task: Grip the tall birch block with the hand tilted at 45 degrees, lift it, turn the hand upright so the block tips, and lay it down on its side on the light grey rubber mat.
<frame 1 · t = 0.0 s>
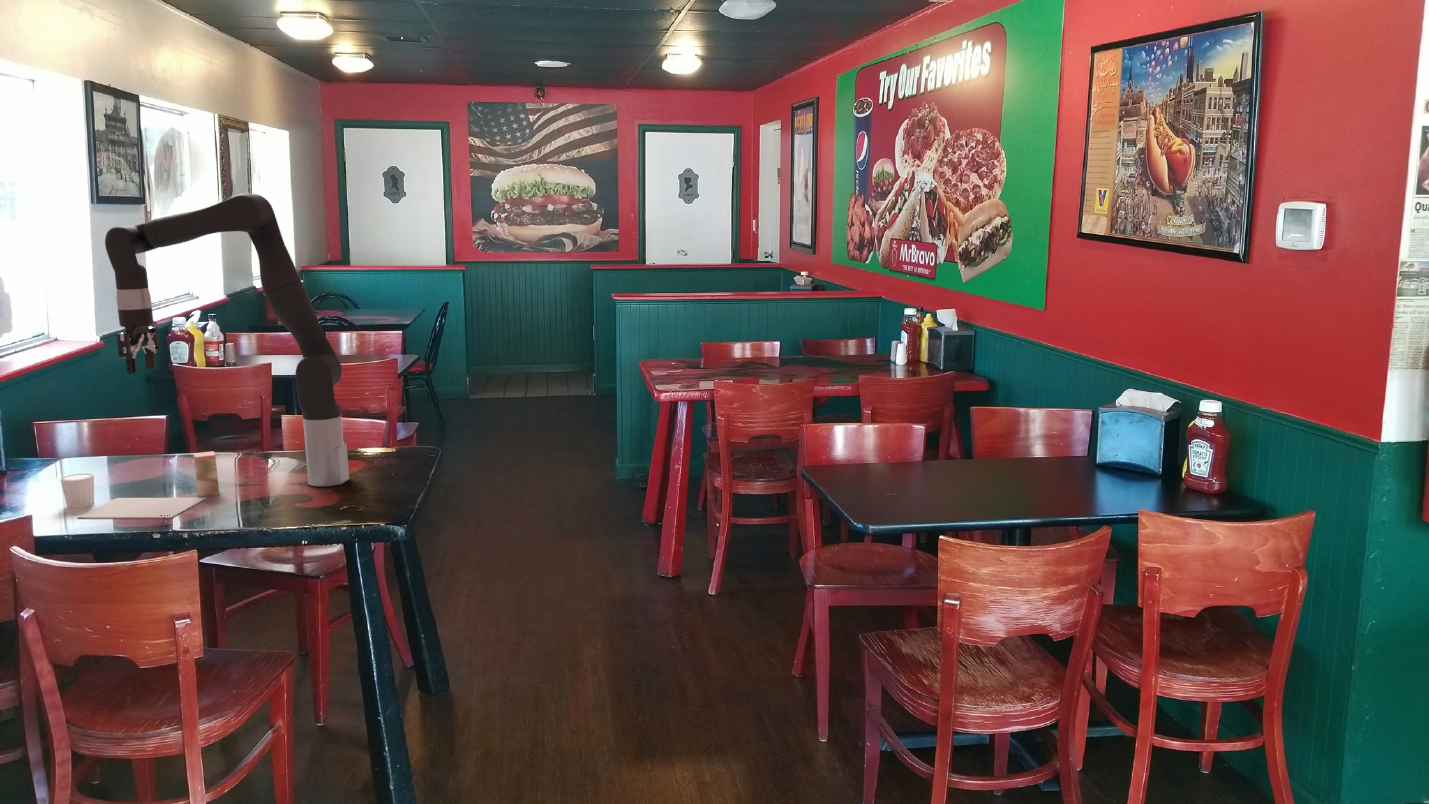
hand: (142, 370, 268), 29 cm above the table, tool pointing down, fingers open, 8 cm apart
birch block: (208, 493, 263), on the table
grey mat: (143, 508, 250), on the table
beige tapered cup: (80, 505, 254), on the table
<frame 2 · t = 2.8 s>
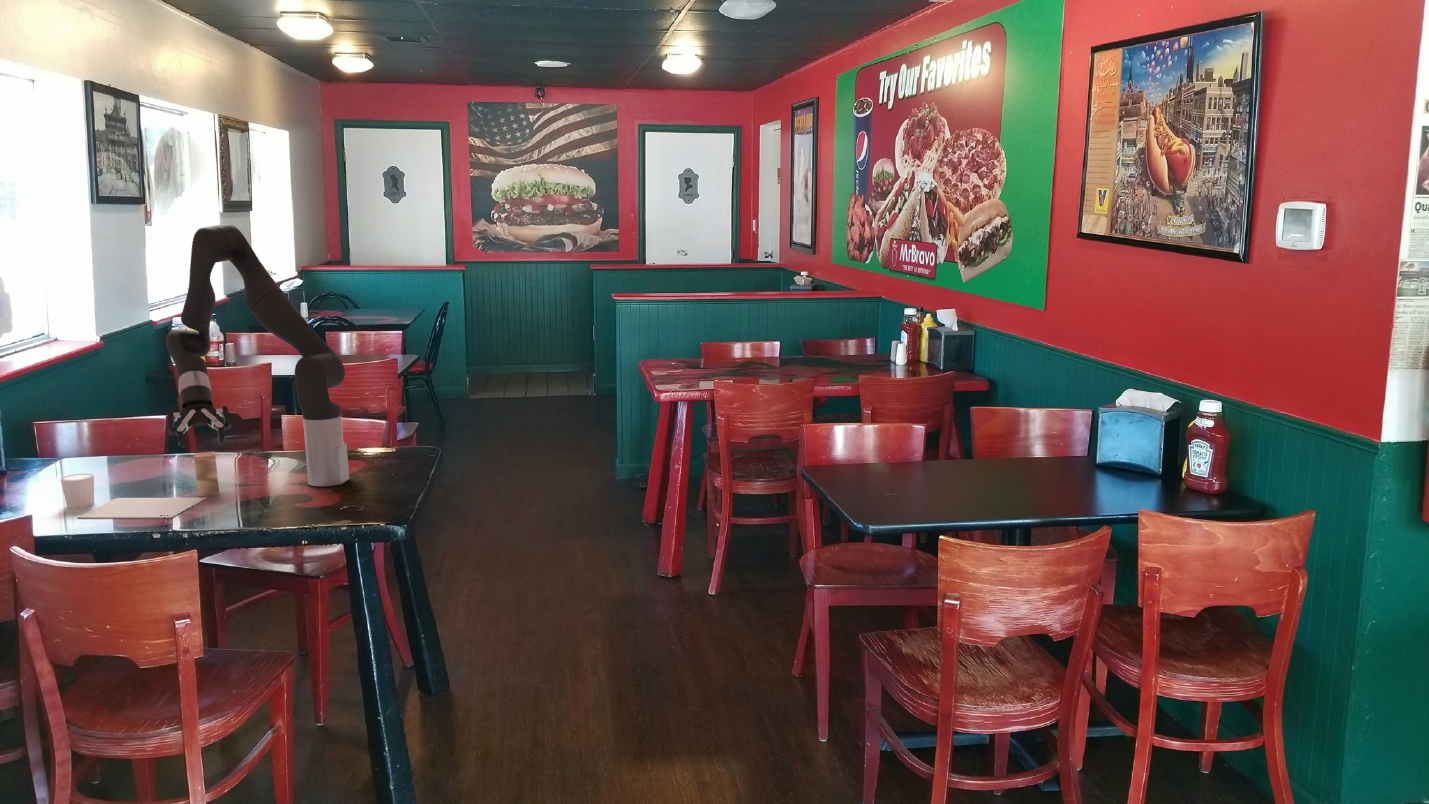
hand: (202, 444, 267), 11 cm above the table, tool tilted 45°, fingers open, 8 cm apart
nothing on the table moved.
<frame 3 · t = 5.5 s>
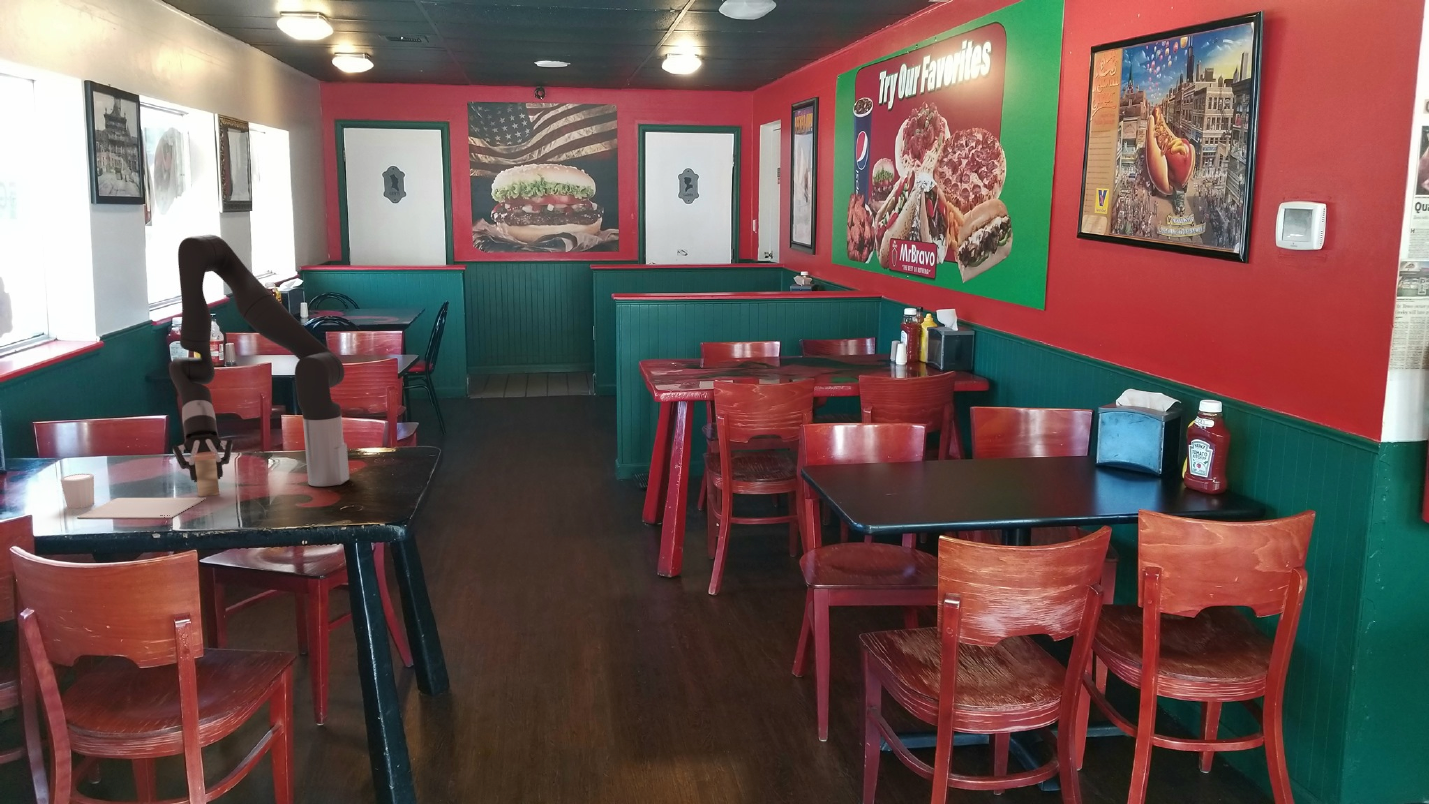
hand: (207, 478, 260), 4 cm above the table, tool tilted 45°, fingers closed on birch block, 4 cm apart
birch block: (208, 493, 263), on the table, touching gripper
everything else where it was.
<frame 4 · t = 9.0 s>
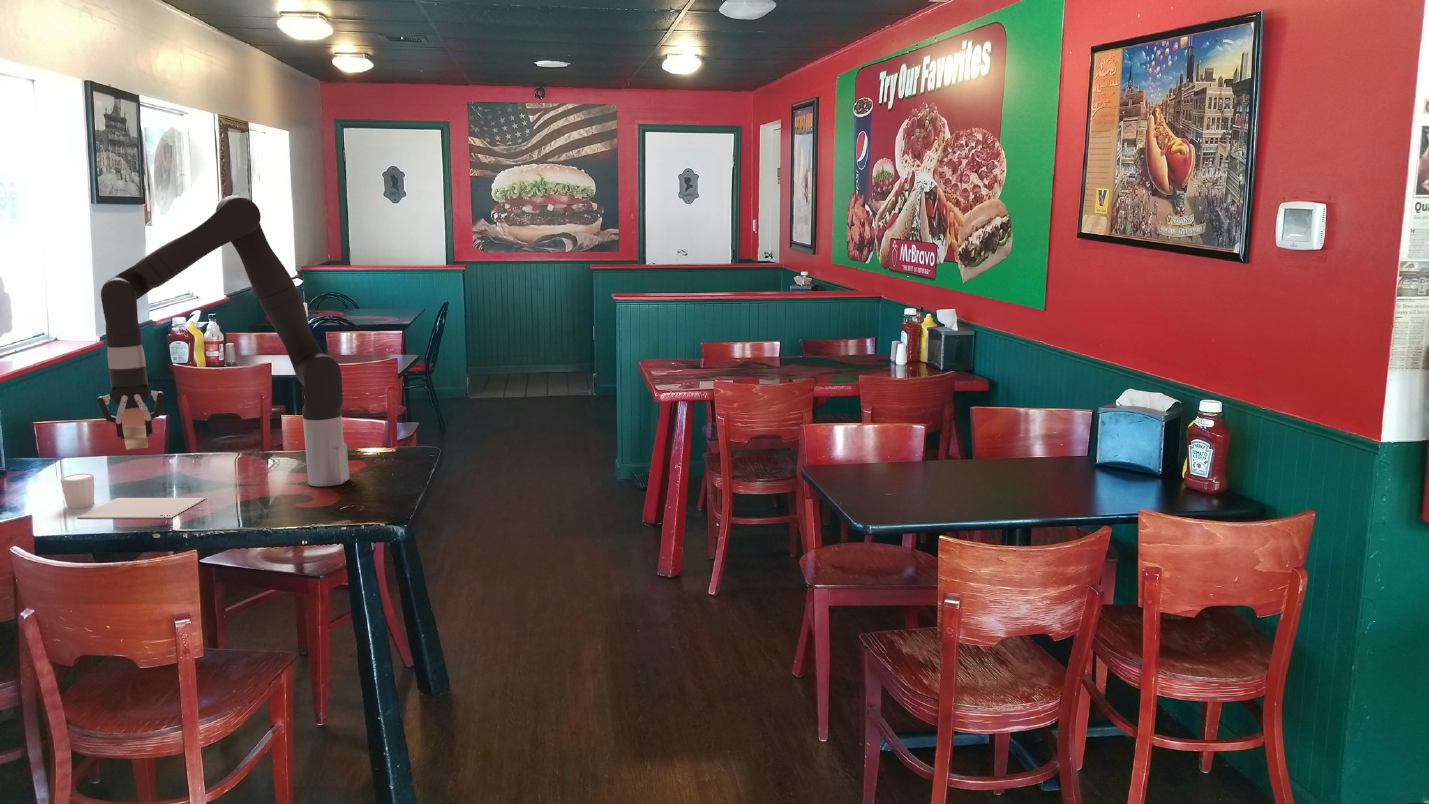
hand: (135, 437, 247), 17 cm above the table, tool pointing down, fingers closed on birch block, 4 cm apart
birch block: (136, 440, 251), point 16 cm above the table, tilted 45°, touching gripper
everything else where it was.
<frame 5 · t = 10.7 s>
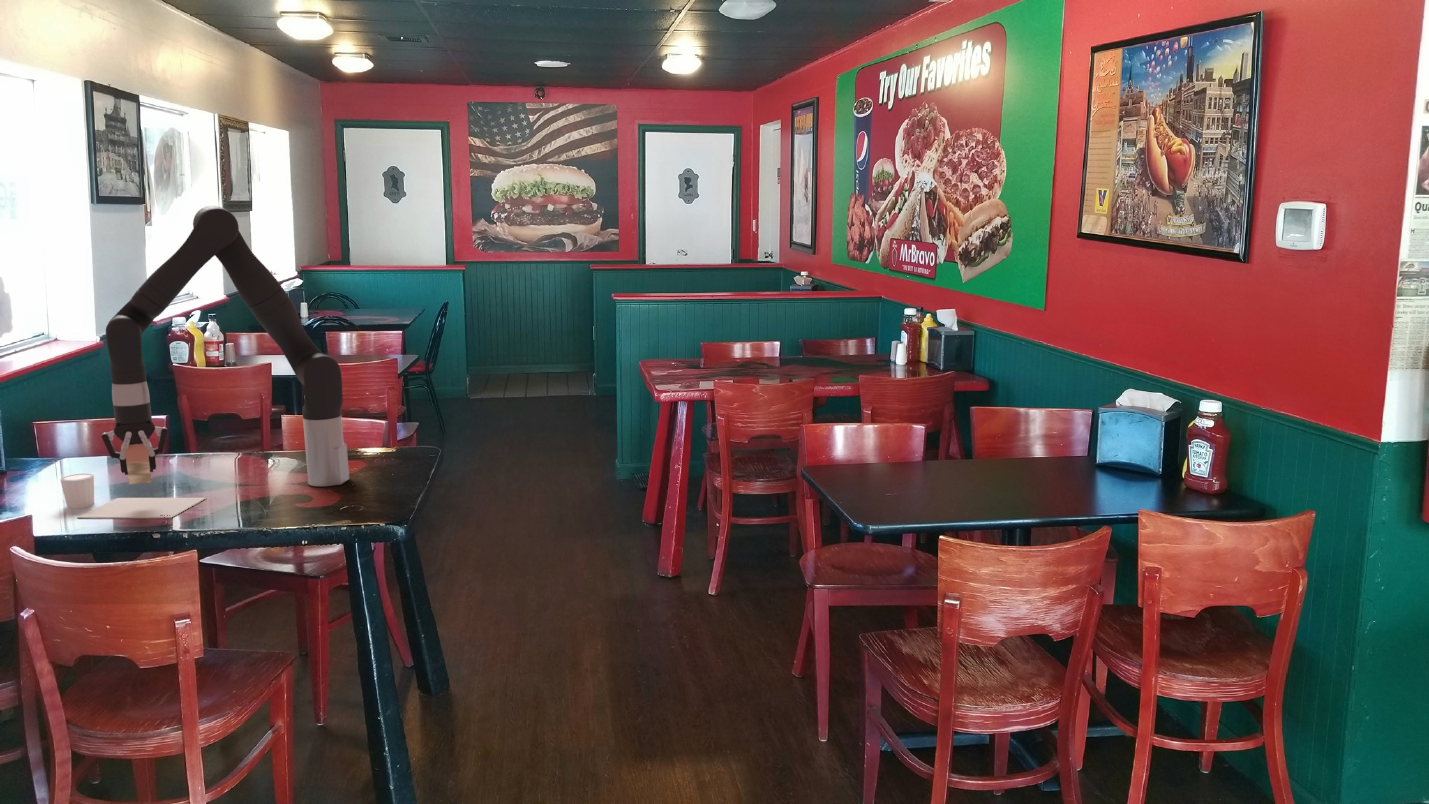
hand: (139, 472, 249), 9 cm above the table, tool pointing down, fingers closed on birch block, 4 cm apart
birch block: (139, 475, 253), point 7 cm above the table, tilted 45°, touching gripper
everything else where it was.
when the fingers open (5 cm above the table, at t = 12.2 s): birch block drops 1 cm and tips over, resting on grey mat.
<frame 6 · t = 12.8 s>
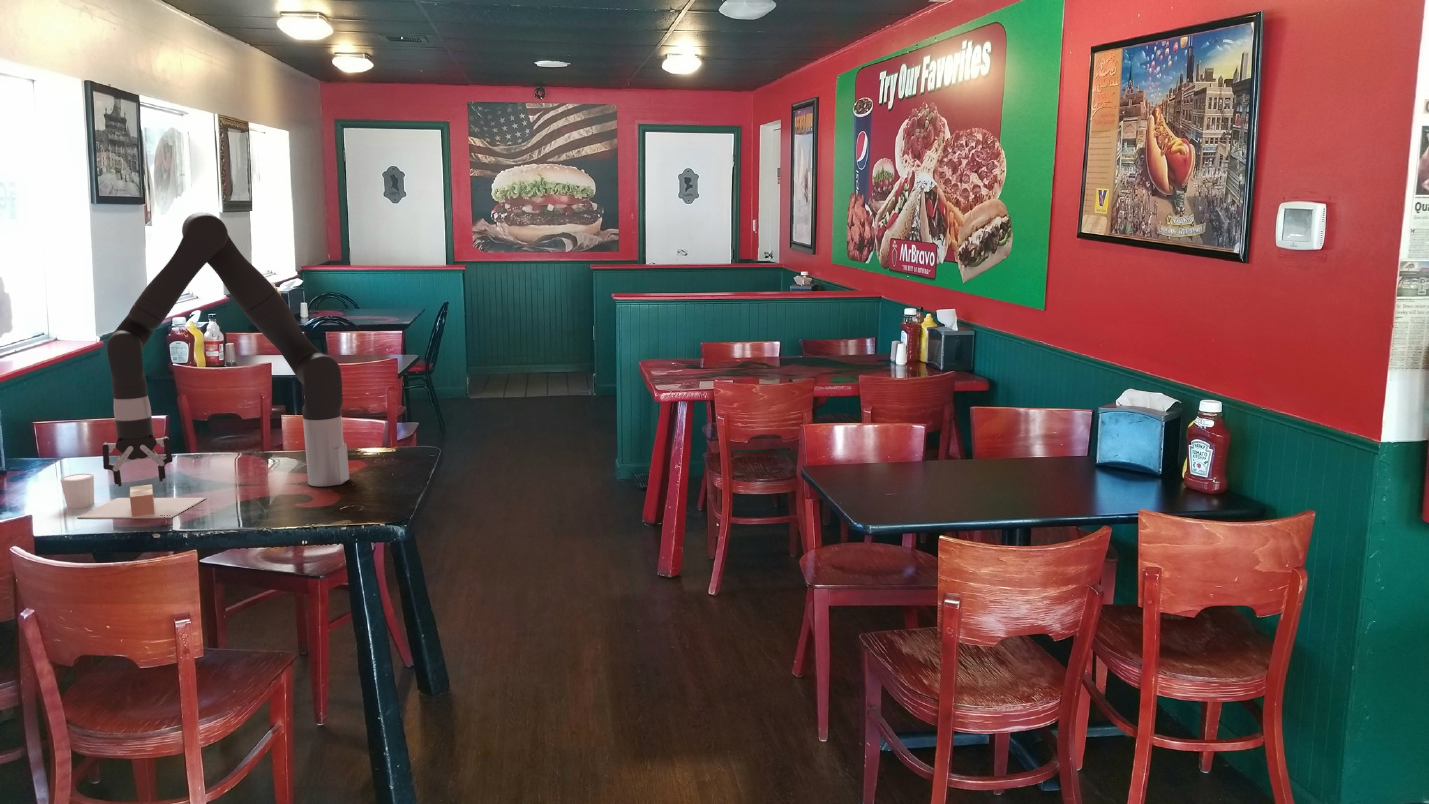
hand: (140, 483, 249), 6 cm above the table, tool pointing down, fingers open, 8 cm apart
birch block: (142, 495, 252), point 3 cm above the table, tilted 90°, touching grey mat
everything else where it was.
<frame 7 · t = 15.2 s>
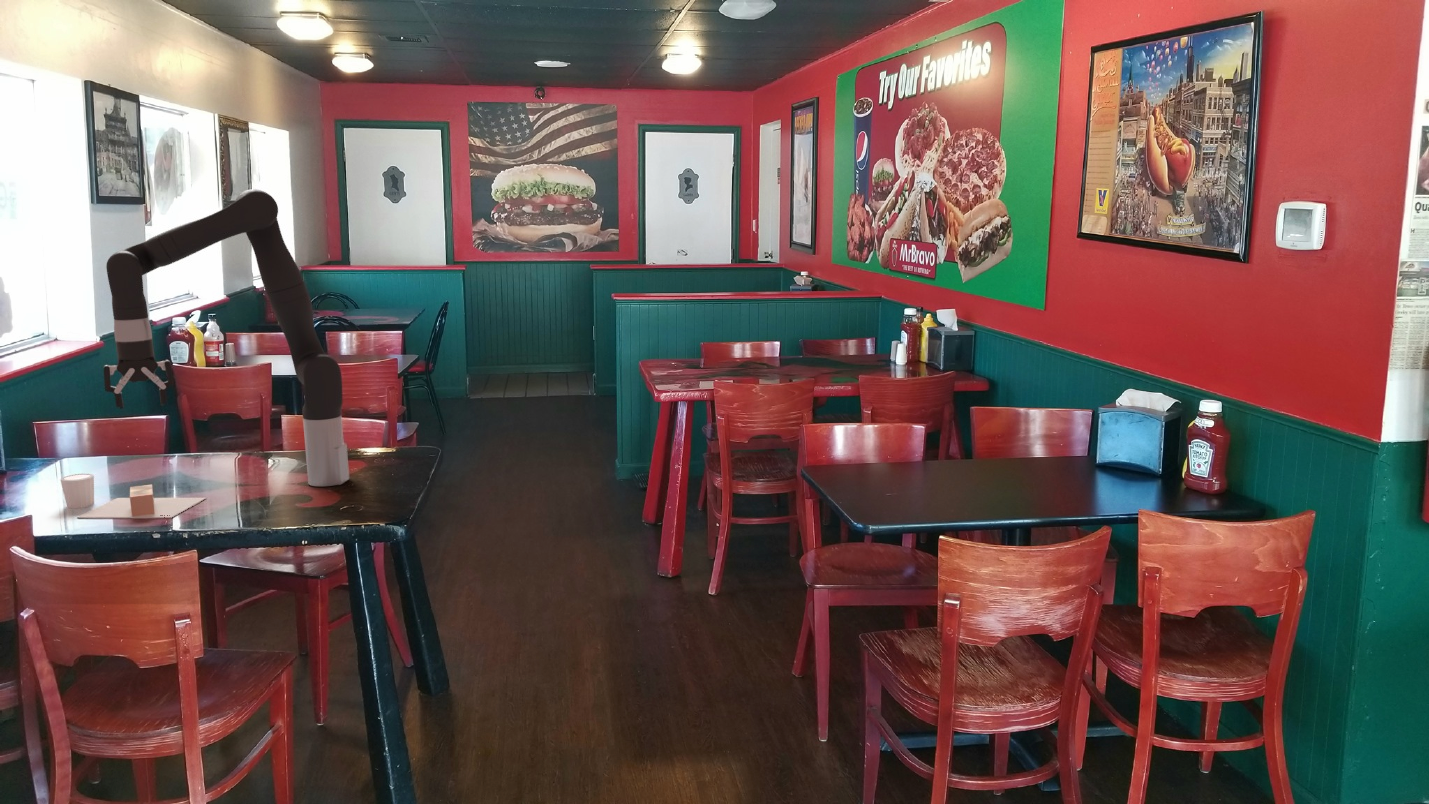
hand: (142, 406, 248), 24 cm above the table, tool pointing down, fingers open, 8 cm apart
nothing on the table moved.
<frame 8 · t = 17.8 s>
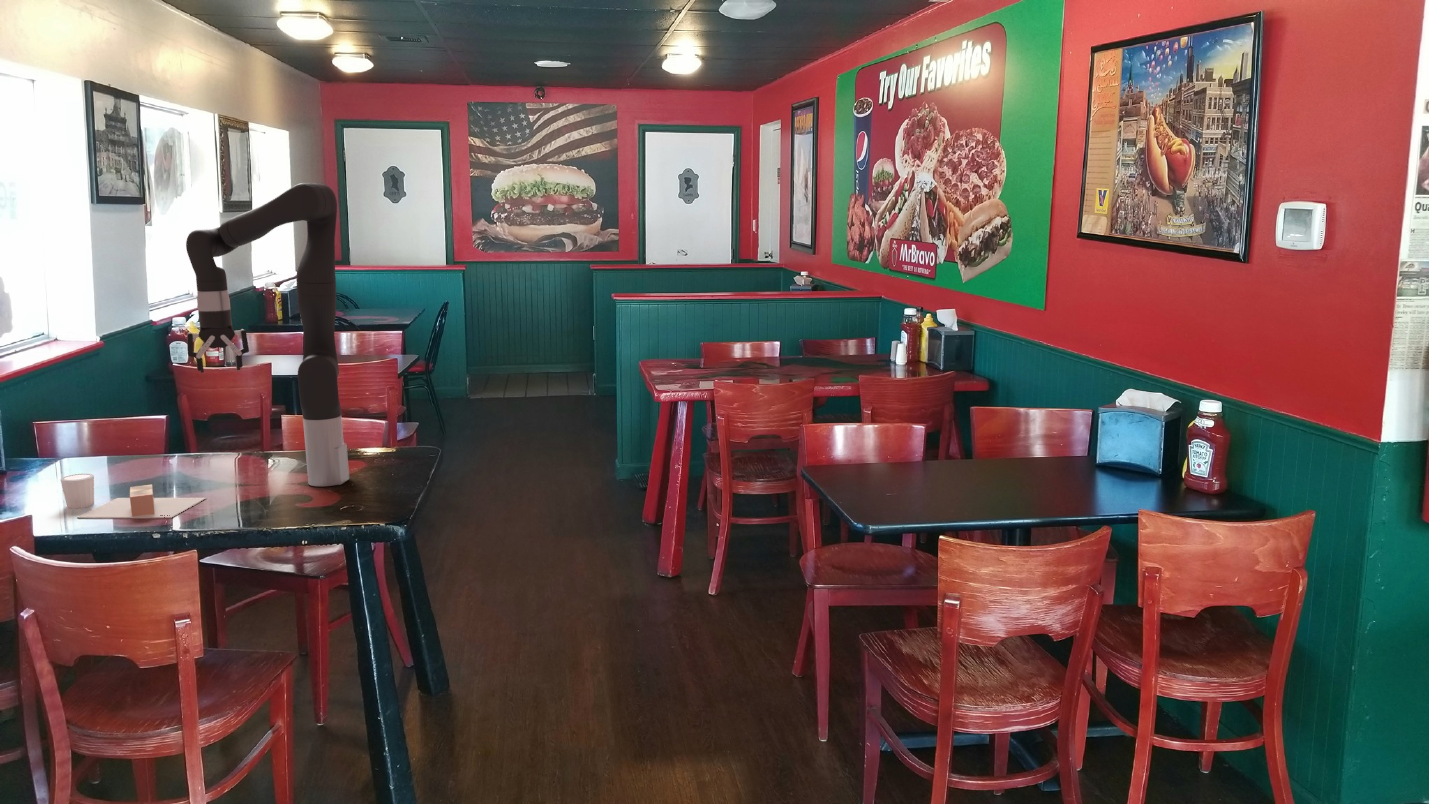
hand: (220, 371, 273), 28 cm above the table, tool pointing down, fingers open, 8 cm apart
nothing on the table moved.
at the end: birch block tilted 90°; birch block 2.7 cm from the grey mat (horizontally); birch block touching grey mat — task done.
